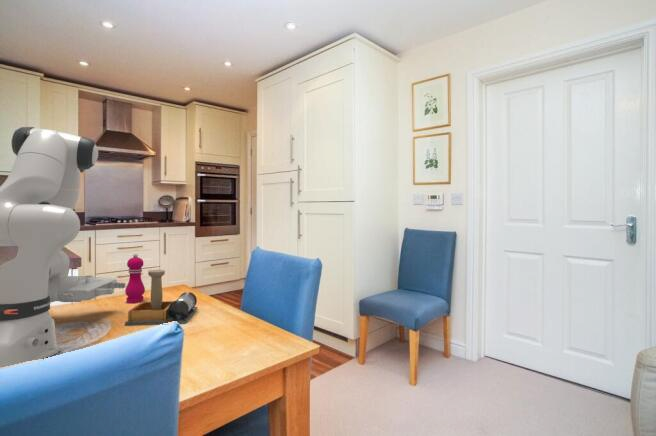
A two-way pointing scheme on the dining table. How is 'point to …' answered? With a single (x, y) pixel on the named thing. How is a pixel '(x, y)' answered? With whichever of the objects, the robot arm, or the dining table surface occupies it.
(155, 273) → the handle
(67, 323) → the dining table surface
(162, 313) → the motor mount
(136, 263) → the pepper mill
